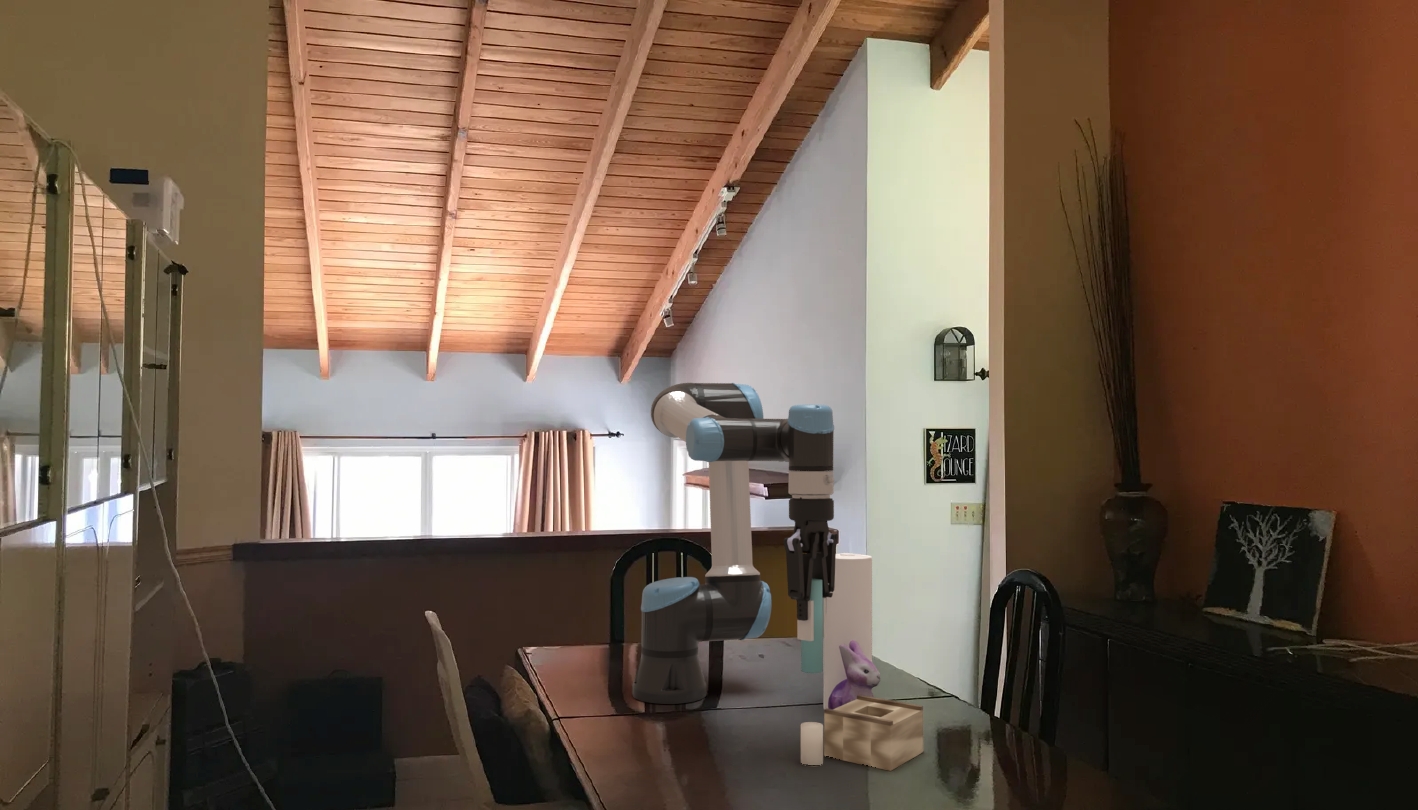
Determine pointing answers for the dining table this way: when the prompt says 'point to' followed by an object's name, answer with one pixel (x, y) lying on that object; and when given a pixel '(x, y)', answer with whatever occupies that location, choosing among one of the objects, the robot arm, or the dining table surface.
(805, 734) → the cream peg
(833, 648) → the cylinder container
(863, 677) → the figurine
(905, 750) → the socket block
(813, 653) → the teal peg
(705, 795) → the dining table surface
